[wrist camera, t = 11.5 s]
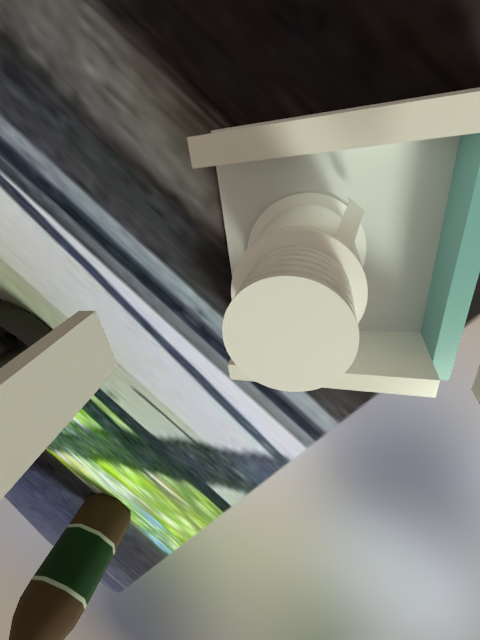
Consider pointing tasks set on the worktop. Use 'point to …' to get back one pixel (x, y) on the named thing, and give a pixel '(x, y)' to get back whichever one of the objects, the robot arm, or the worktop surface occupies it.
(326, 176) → the holder
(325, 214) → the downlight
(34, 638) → the beer bottle
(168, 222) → the worktop surface
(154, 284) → the worktop surface
